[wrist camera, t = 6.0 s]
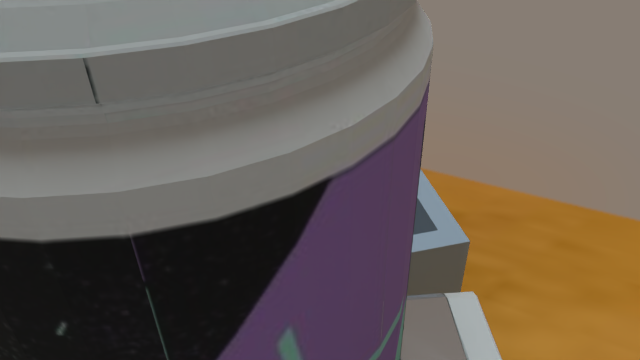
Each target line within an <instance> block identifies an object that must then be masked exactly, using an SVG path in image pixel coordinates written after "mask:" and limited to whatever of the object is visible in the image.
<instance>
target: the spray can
mask: <svg viewBox="0 0 640 360" xmlns="http://www.w3.org/2000/svg"><path fill="white" fill-rule="evenodd" d="M432 53H433V36H432V28H431V22H430V20H429V19H428V17H427V15H426V14H425V12H424V11H423V9H422V8H421V6H420V4H419V3H418V1H417V0H0V360H400V357H401V347H402V338H403V328H404V319H405V309H406V300H407V290H408V281H409V271H410V262H411V252H412V243H413V233H414V224H415V215H416V205H417V196H418V186H419V177H420V167H421V158H422V148H423V139H424V129H425V119H426V110H427V101H428V91H429V82H430V73H431V63H432Z"/></svg>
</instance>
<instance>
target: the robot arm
mask: <svg viewBox="0 0 640 360" xmlns="http://www.w3.org/2000/svg"><path fill="white" fill-rule="evenodd" d="M400 360H502V358H501V356H500V353H499V351H498V348H497V346H496V343H495V341H494V338H493V336H492V333H491V330H490V328H489V325H488V323H487V320H486V318H485V315H484V313H483V310H482V308H481V305H480V303H479V300H478V298H477V296H476V295H475V294H474V293H473V292H458V293H444V294H441V293H437V294H424V295H411V296H407V300H406V309H405V319H404V328H403V338H402V347H401V357H400Z"/></svg>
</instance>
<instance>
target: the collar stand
mask: <svg viewBox="0 0 640 360" xmlns="http://www.w3.org/2000/svg"><path fill="white" fill-rule="evenodd" d="M469 244H470V241H469V239H468V238H467V236H466V235H465V233H464V232H463V230H462V229H461V228H460V226H459V225H458V223H457V222H456V220H455V219H454V217H453V216H452V214H451V213H450V212H449V210H448V209H447V207H446V206H445V204H444V203H443V201H442V200H441V198H440V197H439V195H438V194H437V193H436V191H435V190H434V188H433V187H432V185H431V184H430V182H429V181H428V179H427V178H426V177H425V175H424V174H423V172H422V171H421V169H420V177H419V186H418V196H417V205H416V215H415V224H414V233H413V243H412V252H411V262H410V271H409V281H408V290H407V296H411V295H424V294H437V293H441V294H444V293H458V292H460V291H461V286H462V281H463V275H464V270H465V265H466V260H467V254H468V249H469Z"/></svg>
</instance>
